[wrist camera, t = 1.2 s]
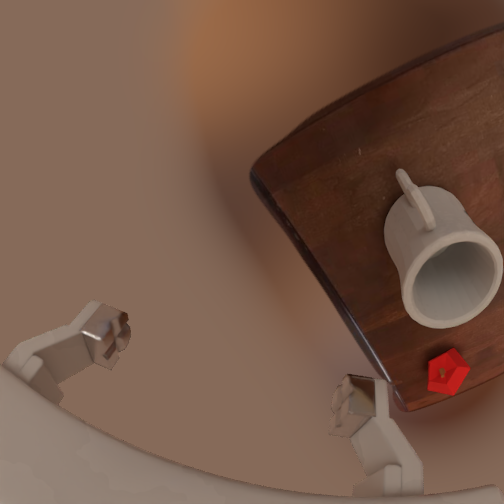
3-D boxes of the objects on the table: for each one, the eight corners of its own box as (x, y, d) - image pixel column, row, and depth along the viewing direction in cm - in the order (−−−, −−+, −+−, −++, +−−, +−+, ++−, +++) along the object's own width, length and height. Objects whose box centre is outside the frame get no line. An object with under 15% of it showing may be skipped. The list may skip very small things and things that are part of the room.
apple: (475, 392, 30) (469, 387, 26) (433, 402, 35) (419, 400, 30) (470, 347, 34) (462, 335, 30) (430, 360, 38) (416, 350, 34)
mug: (472, 240, 26) (511, 298, 18) (403, 278, 30) (421, 345, 22) (429, 136, 22) (477, 165, 14) (349, 183, 27) (359, 232, 18)
